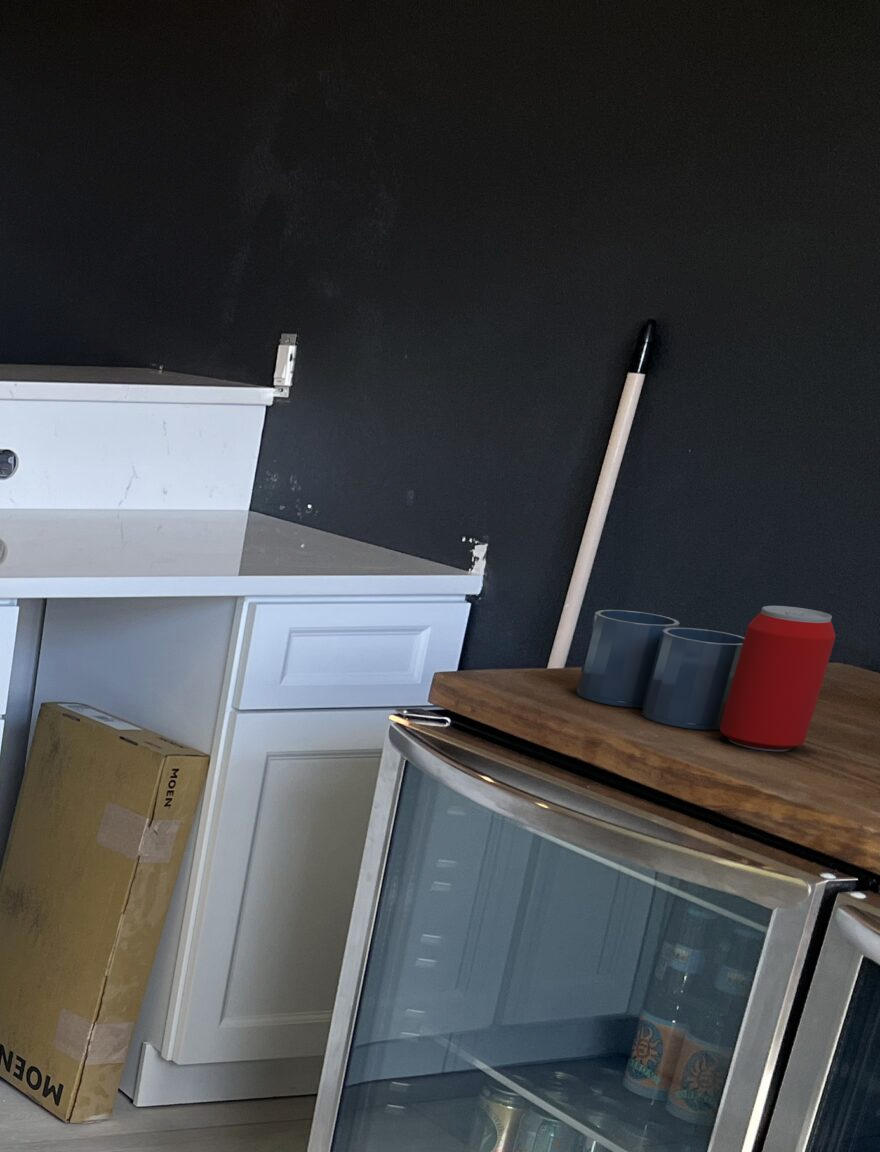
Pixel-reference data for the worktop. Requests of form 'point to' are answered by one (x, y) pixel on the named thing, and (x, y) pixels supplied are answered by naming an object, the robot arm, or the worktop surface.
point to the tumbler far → (621, 656)
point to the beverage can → (778, 678)
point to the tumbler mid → (692, 678)
